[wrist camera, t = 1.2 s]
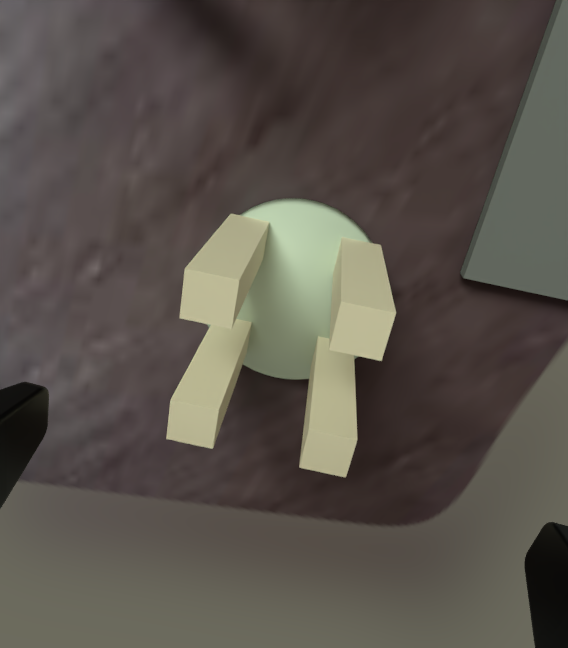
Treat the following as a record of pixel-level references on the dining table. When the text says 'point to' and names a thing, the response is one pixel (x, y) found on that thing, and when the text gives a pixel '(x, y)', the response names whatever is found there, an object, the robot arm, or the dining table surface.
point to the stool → (285, 321)
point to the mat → (531, 183)
